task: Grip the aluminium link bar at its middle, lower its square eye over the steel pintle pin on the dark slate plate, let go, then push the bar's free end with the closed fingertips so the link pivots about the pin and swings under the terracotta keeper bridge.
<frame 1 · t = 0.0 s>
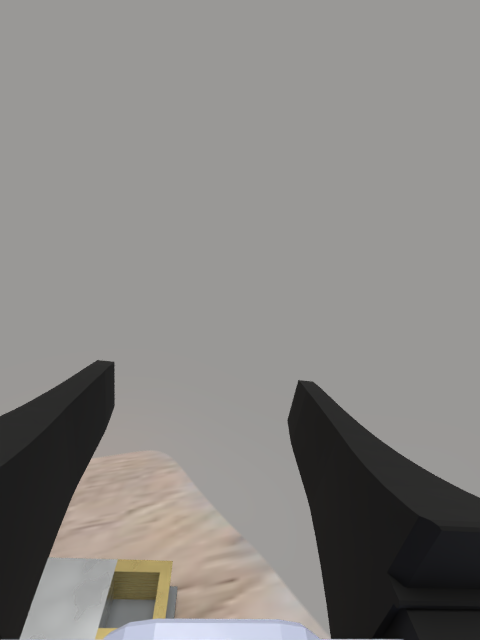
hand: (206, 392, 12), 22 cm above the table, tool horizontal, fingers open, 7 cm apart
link: (22, 625, 21), resting on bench
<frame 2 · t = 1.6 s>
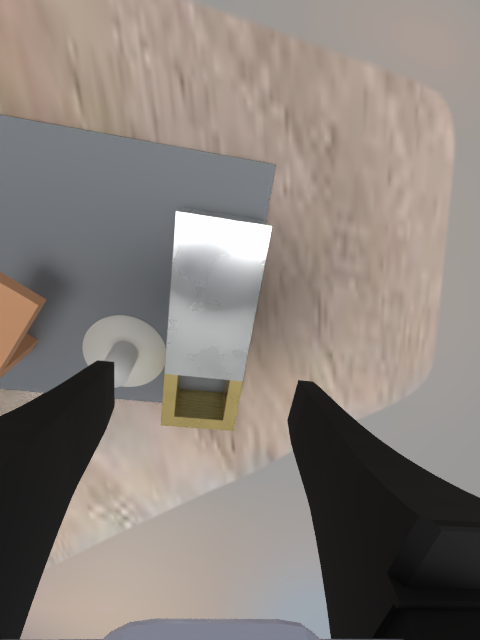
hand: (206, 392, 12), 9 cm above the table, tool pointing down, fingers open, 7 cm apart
keeper: (41, 298, 20), resting on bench
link: (215, 279, 20), resting on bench
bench: (119, 287, 20), on the table
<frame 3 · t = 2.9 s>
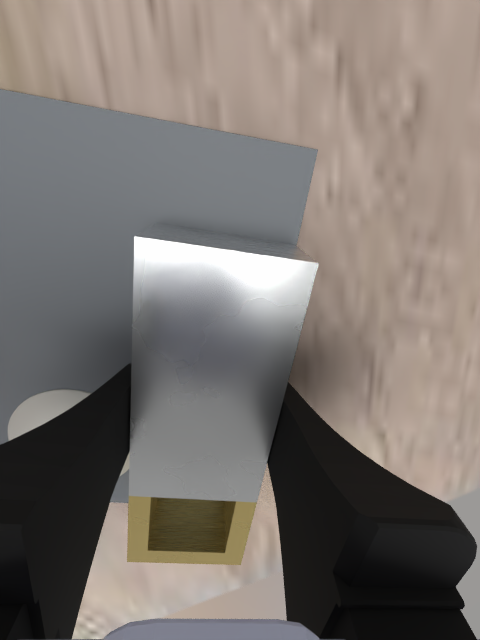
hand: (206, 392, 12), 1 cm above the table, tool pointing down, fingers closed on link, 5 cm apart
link: (213, 336, 12), resting on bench, touching gripper
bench: (61, 347, 13), on the table
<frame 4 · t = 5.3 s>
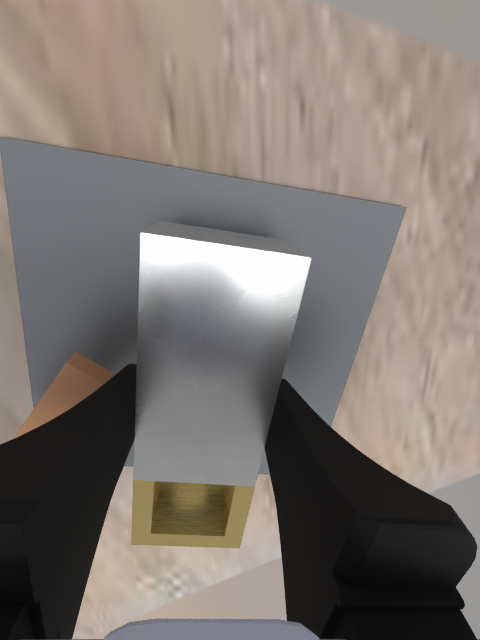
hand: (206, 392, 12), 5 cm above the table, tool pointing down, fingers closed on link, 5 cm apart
keeper: (104, 361, 16), resting on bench
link: (213, 328, 13), point 3 cm above the table, touching gripper
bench: (198, 348, 17), on the table
when the fingers open (2 cm above the table, at t = 7.3 s): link stays where it is, resting on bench.
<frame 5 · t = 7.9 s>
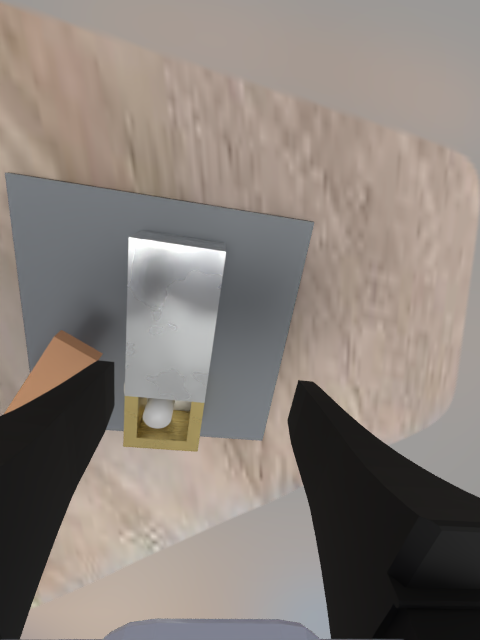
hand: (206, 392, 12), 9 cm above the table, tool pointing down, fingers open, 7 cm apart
keeper: (86, 342, 21), resting on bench
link: (178, 300, 20), resting on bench
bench: (161, 332, 21), on the table
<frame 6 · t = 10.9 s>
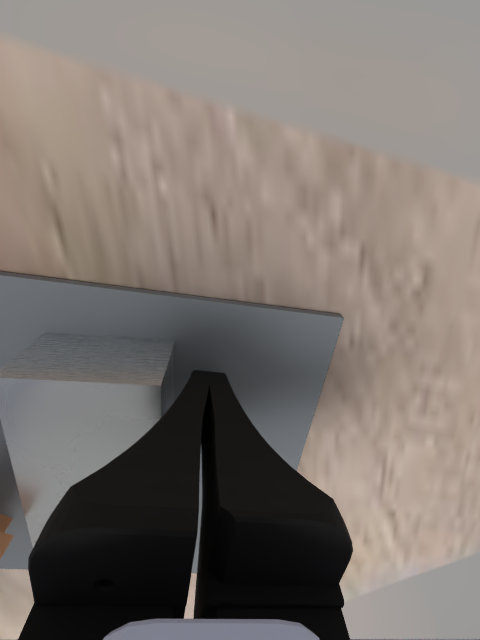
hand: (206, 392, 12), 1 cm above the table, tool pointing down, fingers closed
keeper: (16, 470, 15), resting on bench
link: (117, 419, 13), resting on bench, touching gripper
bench: (121, 456, 15), on the table
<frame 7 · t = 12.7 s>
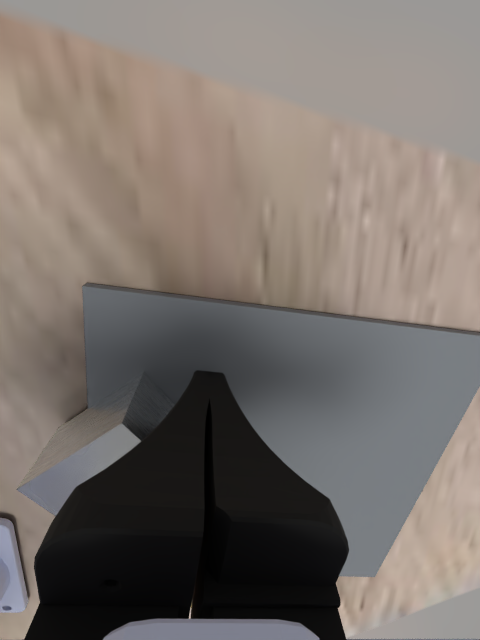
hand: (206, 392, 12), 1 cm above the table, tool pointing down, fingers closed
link: (162, 456, 14), resting on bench, touching gripper
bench: (268, 465, 16), on the table
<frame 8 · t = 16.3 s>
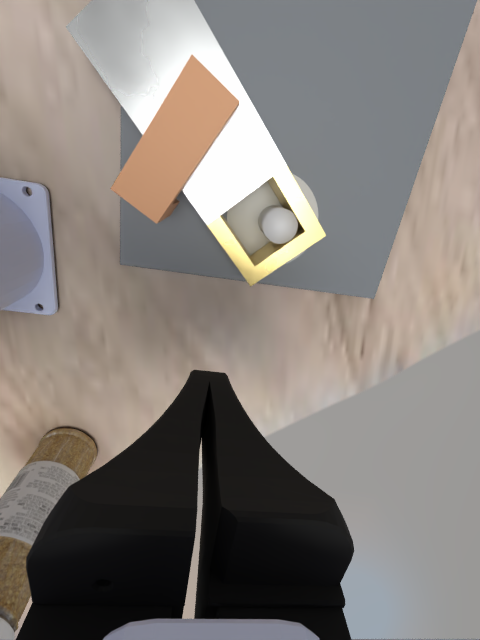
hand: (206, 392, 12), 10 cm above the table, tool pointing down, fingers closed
keeper: (189, 148, 17), resting on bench
sprinkles bottle: (71, 444, 26), on the table
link: (183, 103, 16), resting on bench
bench: (278, 136, 17), on the table
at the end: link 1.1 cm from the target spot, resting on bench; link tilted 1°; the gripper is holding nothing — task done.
